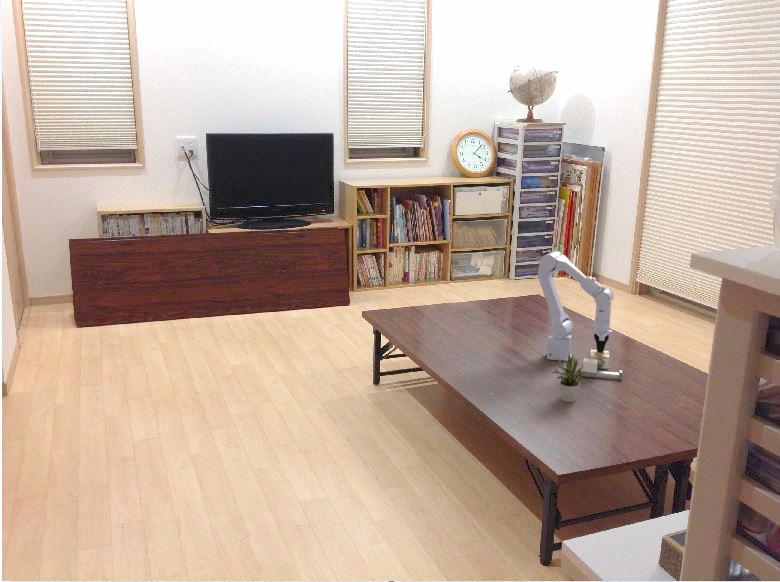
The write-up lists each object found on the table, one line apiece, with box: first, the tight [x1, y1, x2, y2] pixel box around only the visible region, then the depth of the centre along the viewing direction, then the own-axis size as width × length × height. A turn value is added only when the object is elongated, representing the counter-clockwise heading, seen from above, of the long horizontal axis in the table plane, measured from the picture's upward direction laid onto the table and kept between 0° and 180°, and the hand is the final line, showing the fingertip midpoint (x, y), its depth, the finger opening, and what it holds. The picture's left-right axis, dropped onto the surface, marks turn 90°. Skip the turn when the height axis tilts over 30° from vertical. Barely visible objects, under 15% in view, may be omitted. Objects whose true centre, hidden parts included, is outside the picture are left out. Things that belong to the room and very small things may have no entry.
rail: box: [577, 365, 623, 381], centre depth 271 cm, size 16×3×3 cm, turn 75°
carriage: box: [582, 357, 598, 378], centre depth 271 cm, size 5×4×6 cm
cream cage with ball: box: [589, 349, 610, 369], centre depth 282 cm, size 7×7×5 cm
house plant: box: [551, 352, 586, 403], centre depth 250 cm, size 14×14×16 cm
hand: (600, 352), depth 282 cm, fingers closed, pressing on plunger
